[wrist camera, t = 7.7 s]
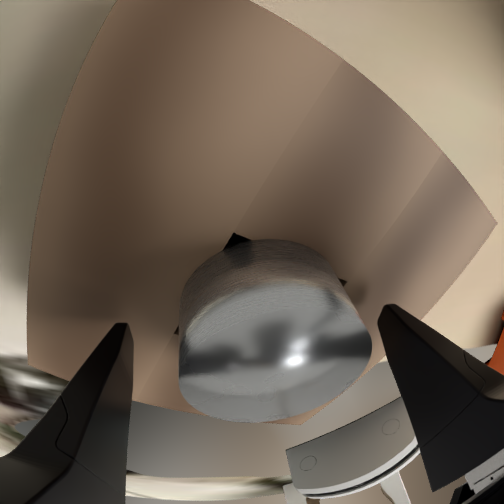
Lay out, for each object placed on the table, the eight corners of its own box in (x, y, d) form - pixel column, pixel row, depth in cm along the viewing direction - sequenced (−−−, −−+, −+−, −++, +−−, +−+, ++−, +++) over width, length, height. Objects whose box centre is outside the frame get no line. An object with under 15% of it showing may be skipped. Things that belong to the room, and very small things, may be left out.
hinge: (300, 456, 35) (304, 514, 26) (283, 441, 34) (285, 503, 25) (410, 404, 32) (437, 459, 23) (401, 385, 31) (430, 444, 22)
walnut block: (436, 180, 15) (497, 223, 10) (284, 365, 21) (300, 424, 17) (166, 0, 8) (144, -41, 4) (55, 296, 15) (27, 364, 11)
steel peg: (323, 216, 14) (406, 334, 8) (262, 299, 17) (297, 426, 10) (218, 161, 12) (240, 277, 6) (164, 264, 14) (153, 407, 8)
